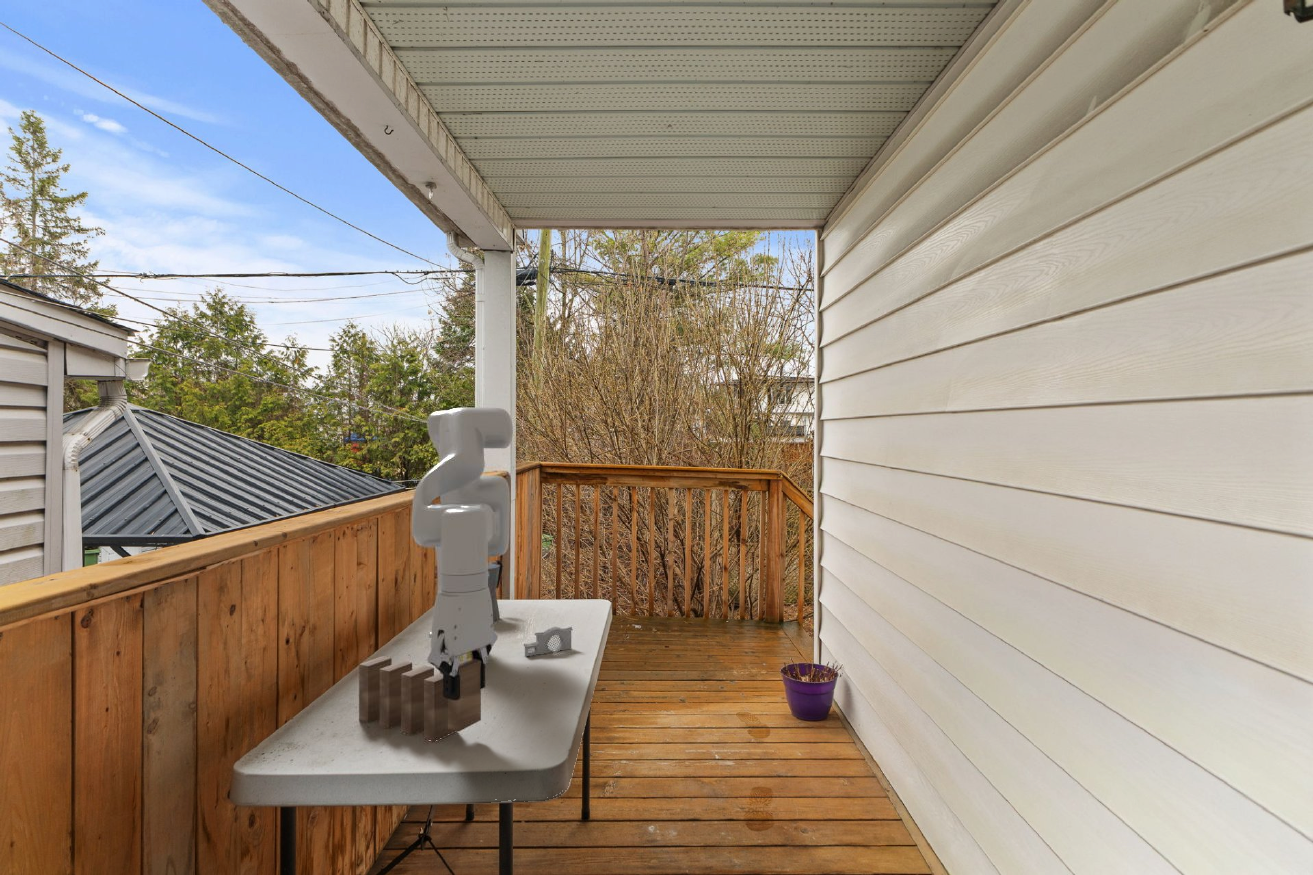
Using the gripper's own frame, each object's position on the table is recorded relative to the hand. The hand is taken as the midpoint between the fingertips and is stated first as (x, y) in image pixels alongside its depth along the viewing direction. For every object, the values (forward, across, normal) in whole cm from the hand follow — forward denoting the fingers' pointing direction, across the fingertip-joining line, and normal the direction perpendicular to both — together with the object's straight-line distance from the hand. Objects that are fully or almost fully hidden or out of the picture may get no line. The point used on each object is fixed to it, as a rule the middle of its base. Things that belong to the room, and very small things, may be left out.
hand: (464, 691), depth 107 cm
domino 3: (+8, 0, -11) cm, 14 cm away
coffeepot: (+8, -60, -52) cm, 80 cm away
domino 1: (+8, 0, -22) cm, 24 cm away
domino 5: (+5, 0, 0) cm, 5 cm away
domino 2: (+8, 0, -17) cm, 19 cm away
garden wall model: (+8, -44, -17) cm, 48 cm away
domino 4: (+8, 0, -6) cm, 10 cm away
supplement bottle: (+8, -27, -25) cm, 38 cm away
